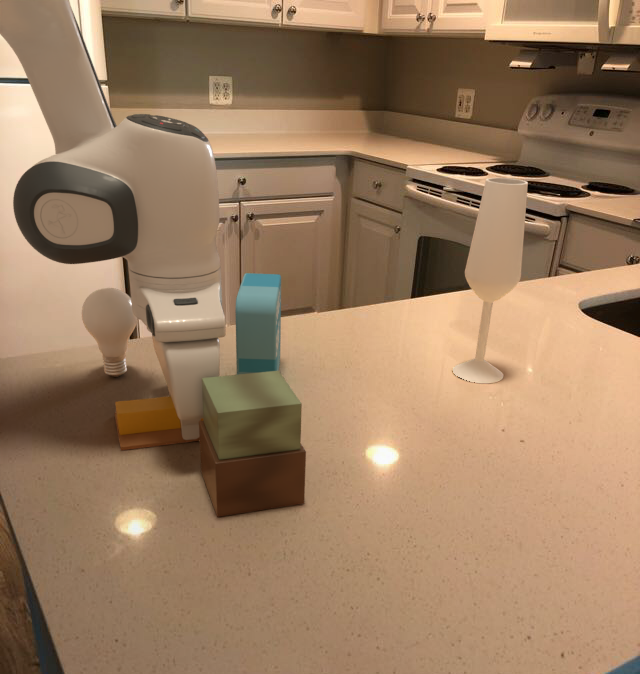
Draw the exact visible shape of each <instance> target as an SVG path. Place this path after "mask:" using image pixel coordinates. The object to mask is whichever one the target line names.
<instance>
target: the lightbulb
mask: <svg viewBox="0 0 640 674" xmlns="http://www.w3.org/2000/svg"><path fill="white" fill-rule="evenodd" d="M81 321H82V324H83V325H84V328H85V329H86V331H87V332H88V333H89V334H90V335H91V336H92V338H93V339H94V340H95V342H96V344H97V348H98V349H99V350H98V351H100V353H101V355H102V363H103V367H104V368H103V370H104V371H103V372H104V373H105V374H106V375H108V376H111V377H113V378H118V377H120V376H122V375H124V374H125V373H126V372H127V371H128V368H127V358H126V352H127V349H128V346H129V345H128V343H129V339H130V337H131V335H132V333H134V330H135V328H136V326H137V323H138V318H136V317H135V316H134V314H133V312H132V302H131V296H130V295H129V294H127V293H126V292H124V291H123V290H121V289H119V288H114V287H102V288H98V289H96V290H94V291H92V292H91V293H90V294H89V295H88V296H87V297H86V298H85V300H84V302H83V304H82V307H81Z"/></svg>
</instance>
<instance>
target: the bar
mask: <svg viewBox="0 0 640 674" xmlns="http://www.w3.org/2000/svg"><path fill="white" fill-rule="evenodd" d="M114 404H115V413H117V422H118V428H119V434H120V435H126V434H135V433H144V432H152V431H161V430H169V429H178V428H180V419H179V418H178V416H177V413H176V409H175V406H174V404H173V401H172V398H171V396H169V395H168V396H158V397H150V398H149V397H148V398H138V399H129V400H121V401H115V402H114ZM200 421H204V419H203V418H201V420H200Z"/></svg>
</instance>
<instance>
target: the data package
mask: <svg viewBox="0 0 640 674" xmlns="http://www.w3.org/2000/svg"><path fill="white" fill-rule="evenodd" d="M281 325H282V276H281V274H279V273H278V274H276V273H254V272H253V273H251V272H249V273H248V272H245V273H244V274H243V277H242V280H241V282H240V286H239V289H238V292H237V295H236V298H235V358H236V360H235V361H236V363H235V365H236V375H239V374H249V373H259V372H270V371H279V372H280V365H281V338H282V337H281V332H282V331H281V330H282V329H281V328H282V326H281Z"/></svg>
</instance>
